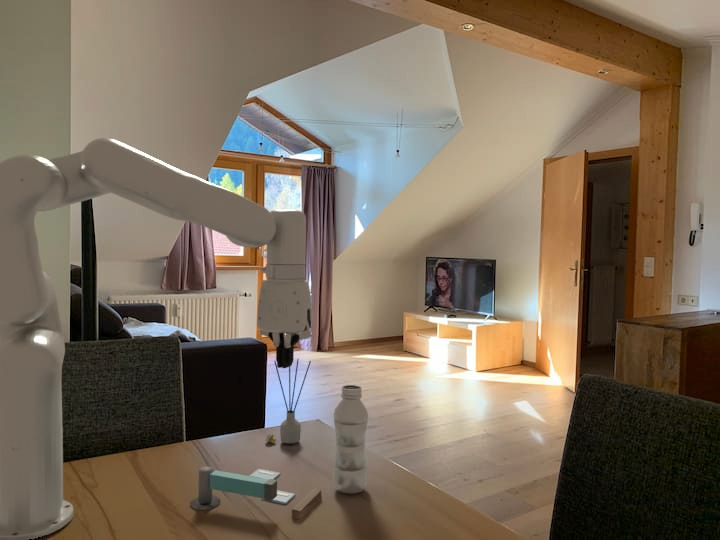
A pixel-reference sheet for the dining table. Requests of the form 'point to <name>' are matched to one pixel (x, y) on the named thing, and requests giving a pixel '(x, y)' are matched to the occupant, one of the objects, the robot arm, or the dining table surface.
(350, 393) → the plastic bottle
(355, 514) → the dining table surface
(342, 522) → the dining table surface
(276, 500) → the label cards
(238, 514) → the dining table surface
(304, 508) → the sill
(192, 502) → the pivot plate
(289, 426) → the reed diffuser
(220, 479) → the boom bar
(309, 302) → the robot arm
